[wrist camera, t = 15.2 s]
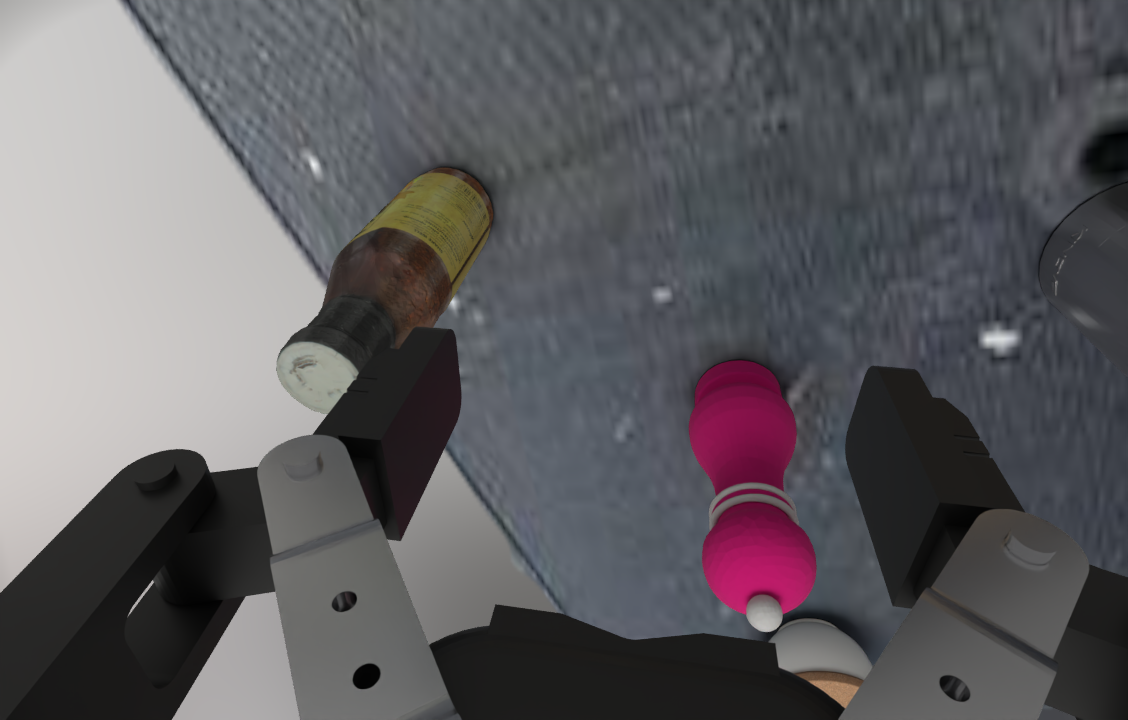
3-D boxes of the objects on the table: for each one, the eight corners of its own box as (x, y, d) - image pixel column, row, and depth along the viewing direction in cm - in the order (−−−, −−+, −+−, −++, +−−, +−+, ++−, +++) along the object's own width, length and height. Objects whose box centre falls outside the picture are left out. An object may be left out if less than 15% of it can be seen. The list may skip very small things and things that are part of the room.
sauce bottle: (407, 156, 42) (232, 291, 26) (499, 171, 42) (381, 317, 25) (410, 248, 46) (257, 417, 29) (494, 262, 45) (388, 442, 29)
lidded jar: (864, 598, 58) (893, 699, 50) (871, 668, 63) (898, 770, 55) (743, 605, 61) (752, 701, 53) (759, 671, 66) (770, 768, 58)
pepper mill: (805, 372, 46) (874, 609, 30) (759, 443, 50) (798, 686, 34) (711, 340, 46) (729, 561, 30) (673, 413, 50) (670, 644, 34)
